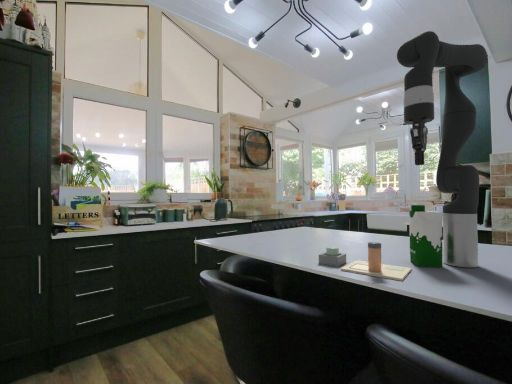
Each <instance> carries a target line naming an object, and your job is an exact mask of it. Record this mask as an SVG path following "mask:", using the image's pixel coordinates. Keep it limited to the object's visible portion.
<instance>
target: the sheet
mask: <svg viewBox="0 0 512 384" xmlns="http://www.w3.org/2000/svg"><path fill="white" fill-rule="evenodd" d="M412 269H413V268H411V267H407V266H401V265H400V266H398V265H394V264H384V263H381V270H382V271H381V272H371V271H369V270H368V261H365V260H364V261H363V260H359V259H358V260H354V261H353V262H351V263H348V264H347V265H344V266H343V267H341V268H340V271H342V272H348V273H349V272H350V273H355V274H360V275H365V276H372V277H378V278H382V279H383V278H384V279H388V280H393V281H394V280H395V281H401V282H403V280H405V278H407V276H408V275H409V274H410V273H411V271H413V270H412ZM409 272H410V273H409ZM408 273H409V274H408Z"/></svg>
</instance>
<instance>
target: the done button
mask: <svg viewBox="0 0 512 384" xmlns="http://www.w3.org/2000/svg"><path fill="white" fill-rule="evenodd" d="M325 252H326V255H330V256H339V253H340V249H339V247H337V246H336V247H335V246H328V247H327V246H326V248H325Z"/></svg>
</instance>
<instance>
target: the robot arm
mask: <svg viewBox="0 0 512 384" xmlns="http://www.w3.org/2000/svg"><path fill="white" fill-rule="evenodd" d="M396 60H397V62H398V63H399V64H400V65H401V66H402V67H405V68H411V69H410V70H408V71H407V72H406V73H405V75H404V77H403V78H404V79H403V82H404V84H403V85H404V87H403V88H404V92H403V93H404V95H403V123H404V124H405V125H408V126H412V128H410V129H409V134H410V139H411V145H412V146H411V148H412V150H413V153H414V165H415V166H424V165H425V152H426V151H427V144H428V133H429V130H428V128H427V126H426V125H425V124H427V123H430V122H432V121H434V120H435V96H434V95H435V93H434V89H433V87H434V85H433V82H434V81H433V72H434V68H444V104H443V105H444V107H443V116H442V128H441V129H442V131H441V132H442V133H441V134H442V135H441V143H440V144H441V146H440V153H439V159H438V163H437V168H436V169H437V170H436V176H435V177H436V178H435V183H436V187H437V189H438V191H439V192H440V193H443V194H457V197H456V198H455V199H454V200H452V201H451V202H447V203H445V204H443V206H442V212H443V216H442V248H443V263H444V264H446V265H449V266H453V267H459V268H478V267H479V242H478V241H479V238H478V233H479V232H478V208H479V207H478V206H479V202H480V201H479V199H480V197H479V195H480V175H479V171H478V170H477V168H476V167H475V166H474V165H471V164H466V165H465V164H464V165H457V160H458V156H459V153H460V152H461V150H462V149H463V147H464V146H465V145H466V143H467V142H468V141H469V140H470V138H471V136H472V135H473V133H474V131H475V129H476V121H477V108H476V106H475V104H474V103H473V102H472V101H471V100H470V98H469V97H467V95H466V94H465V93H464V92H463V90H462V89H461V85H460V79H461V78H463V77H467V76H469V75H472V74H476V73H478V72H480V71H482V70H483V69H484V68H485V67H486V66H487V63H488V54H487V50H486V48H485V47H484V46H483V45H482V44H480V43H478V44H477V43H475V44H454V43H448V42H444V41H442V40H440V39H439V36H438V34H437V33H436V32H434V31H433V30H429V31H425V32H422V33H420V34H418V35H417V36H415V37H413V38H411V39H409V40H407V41H405V42H404V43H402V44H401V45H400V46H399V47H398V49H397V52H396Z"/></svg>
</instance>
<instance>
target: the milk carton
mask: <svg viewBox="0 0 512 384" xmlns="http://www.w3.org/2000/svg"><path fill="white" fill-rule="evenodd" d="M410 209H411V210H408V221H409V222H408V223H409V225H408V227H409V257H410V262H411V263H412V264H413V265H416V266H417V267H422V268H424V267H425V268H443V211H432V210H426V204H425V205H424V204H419V205H418V204H411V205H410Z"/></svg>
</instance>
